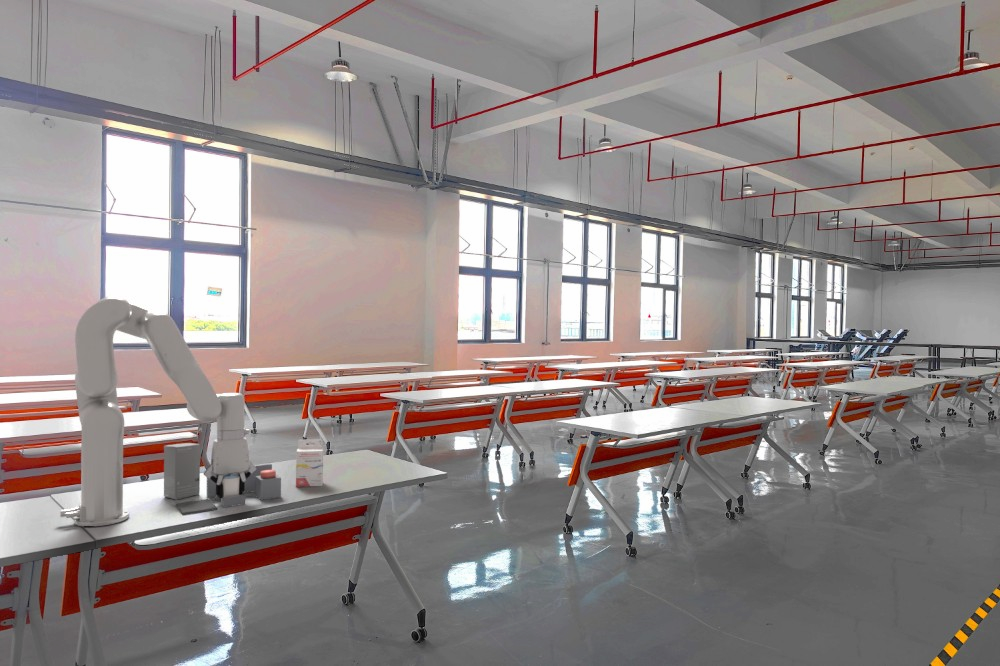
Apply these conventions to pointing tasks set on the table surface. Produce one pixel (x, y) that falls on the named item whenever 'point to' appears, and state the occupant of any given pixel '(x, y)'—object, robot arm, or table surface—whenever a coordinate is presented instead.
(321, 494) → the table surface
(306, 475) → the ink cartridge box
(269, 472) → the plunger
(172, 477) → the skincare box
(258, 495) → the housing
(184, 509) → the mat
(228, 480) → the block
